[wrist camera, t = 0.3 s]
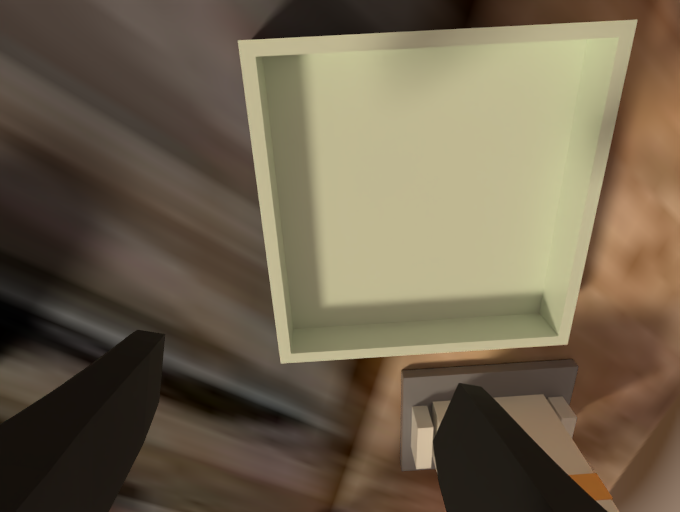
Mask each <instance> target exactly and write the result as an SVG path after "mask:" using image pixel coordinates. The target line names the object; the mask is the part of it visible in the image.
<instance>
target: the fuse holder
mask: <svg viewBox="0 0 680 512" xmlns="http://www.w3.org/2000/svg"><path fill="white" fill-rule="evenodd" d="M578 367H579V366H578V365H577V364H576V363H575V362H574V360H573V359H568V360H553V361H537V362H522V363H507V364H492V365H477V366H462V367H447V368H432V369H417V370H402V373H401V435H400V465H401V470H402V471H412V470H427V469H436V468H435V464H434V461H433V457H432V444H433V424H432V405H433V402H436V401H450V400H451V399H452V397H453V394H454V392H455V390H456V388H457V385H458V383H463V384H469V385H475V386H481V387H482V388H483V389H484V390H486V391H487V392H488V393H489V394H490V395H491V396H492V397H493V398H495V397H509V396H524V395H539V394H543V395H544V396H545V398H546V399H547V401H548V402H549V404H550V405H551V407H552V409H553V410H554V412H555V413H556V415H557V416H558V418H559V419H560V421H561V422H562V424H563V426H564V427H565V429H566V430H567V432H568V433H569V435H570V436H571V438H572V437H573V433H574V429H575V425H576V421H577V416H576V415H575V413H574V412H573V411H572V409H571V408H570V406H569V405H570V401H571V397H572V392H573V388H574V384H575V380H576V375H577V371H578Z"/></svg>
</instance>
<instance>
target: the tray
mask: <svg viewBox="0 0 680 512" xmlns="http://www.w3.org/2000/svg"><path fill="white" fill-rule="evenodd" d="M637 20H638V19H637ZM637 20H618V21H599V22H580V23H561V24H542V25H523V26H504V27H485V28H466V29H447V30H428V31H408V32H389V33H370V34H351V35H332V36H313V37H294V38H275V39H256V40H238V46H239V53H240V61H241V68H242V76H243V83H244V91H245V98H246V106H247V113H248V121H249V128H250V136H251V143H252V151H253V158H254V166H255V173H256V181H257V188H258V196H259V203H260V211H261V218H262V226H263V233H264V241H265V248H266V256H267V264H268V271H269V279H270V286H271V294H272V301H273V309H274V316H275V324H276V331H277V339H278V346H279V354H280V361H281V363H295V362H311V361H326V360H341V359H356V358H371V357H387V356H402V355H417V354H432V353H447V352H463V351H478V350H493V349H508V348H523V347H539V346H554V345H568V340H569V336H570V331H571V326H572V322H573V317H574V312H575V308H576V303H577V299H578V294H579V289H580V285H581V280H582V275H583V271H584V266H585V261H586V257H587V252H588V248H589V243H590V238H591V234H592V229H593V224H594V220H595V215H596V210H597V206H598V201H599V197H600V192H601V187H602V183H603V178H604V173H605V169H606V164H607V159H608V155H609V150H610V146H611V141H612V136H613V132H614V127H615V122H616V118H617V113H618V108H619V104H620V99H621V95H622V90H623V85H624V81H625V76H626V71H627V67H628V62H629V58H630V53H631V48H632V44H633V39H634V34H635V30H636V25H637Z"/></svg>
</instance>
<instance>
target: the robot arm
mask: <svg viewBox="0 0 680 512" xmlns="http://www.w3.org/2000/svg"><path fill="white" fill-rule="evenodd" d="M164 341H165V334H160V333H154V332H148V331H142V330H137V331H135V332H133V333H132V334H130V335H129V336H128V337H126V338H125V339H124V340H123V341H121V342H120V343H119V344H117V345H116V346H115V347H113V348H112V349H111V350H109V351H108V352H107V353H105V354H104V355H103V356H101V357H100V358H99V359H97V360H96V361H95V362H93V363H92V364H91V365H89V366H88V367H86V368H85V369H84V370H82V371H81V372H79V373H78V374H76V375H75V376H74V377H72V378H71V379H69V380H68V381H67V382H65V383H64V384H62V385H61V386H59V387H58V388H56V389H55V390H53V391H52V392H50V393H49V394H47V395H46V396H44V397H43V398H41V399H40V400H38V401H36V402H35V403H33V404H32V405H30V406H29V407H27V408H26V409H24V410H22V411H21V412H19V413H18V414H16V415H15V416H13V417H11V418H10V419H8V420H6V421H5V422H3V423H1V424H0V512H109V510H110V508H111V506H112V504H113V502H114V500H115V498H116V496H117V494H118V492H119V490H120V489H121V487H122V485H123V483H124V481H125V479H126V477H127V475H128V473H129V471H130V469H131V467H132V465H133V463H134V461H135V459H136V457H137V455H138V453H139V451H140V449H141V447H142V445H143V443H144V441H145V438H146V435H147V433H148V430H149V428H150V425H151V422H152V420H153V417H154V414H155V412H156V409H157V406H158V403H159V397H160V386H161V375H162V363H163V352H164ZM433 448H434V455H435V463H436V469H437V475H438V481H439V485H440V489H441V493H442V496H443V500H444V504H445V507H446V511H447V512H608V511H607V510H605V509H604V508H603V507H602V506H601V505H600V504H599V503H598V502H597V501H595V500H594V499H593V498H592V497H591V496H590V495H589V494H588V493H587V492H586V491H585V490H584V489H583V488H582V487H580V486H579V485H578V484H577V483H576V482H575V481H574V480H573V479H572V478H571V477H570V476H569V475H568V474H567V473H566V472H565V471H564V470H563V469H562V468H561V467H560V466H559V465H558V464H557V463H556V462H555V461H554V460H553V459H552V458H551V457H550V456H549V455H548V454H547V453H546V452H545V451H544V450H543V449H542V448H541V447H540V446H539V445H538V444H537V443H536V442H535V441H534V440H533V439H532V438H531V437H530V436H529V435H528V434H527V433H526V432H525V431H524V430H523V428H522V427H521V426H520V425H519V424H518V423H517V422H516V421H515V420H514V419H513V418H512V417H511V416H510V415H509V414H508V413H507V412H506V411H505V410H504V409H503V407H502V406H501V405H500V404H499V403H498V402H497V401H496V400H495V399H494V398H493V397H492V396H491V395H490V394H489V393H488V392H487V391H486V390H484V389H483V388H482V387H481V386H475V385H469V384H463V383H458V385H457V388H456V390H455V392H454V394H453V397H452V399H451V401H450V403H449V406H448V408H447V410H446V412H445V415H444V417H443V419H442V421H441V424H440V426H439V428H438V430H437V433H436V435H435V437H434V439H433Z"/></svg>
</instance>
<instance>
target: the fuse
mask: <svg viewBox="0 0 680 512" xmlns="http://www.w3.org/2000/svg"><path fill="white" fill-rule="evenodd" d="M494 399H495V400H496V401H497V402H498V403H499V404H500V405H501V406H502V407H503V409H504V410H505V411H506V412H507V413H508V414H509V415H510V416H511V417H512V418H513V419H514V420H515V421H516V422H517V423H518V424H519V425H520V426H521V427H522V428H523V430H524V431H525V432H526V433H527V434H528V435H529V436H530V437H531V438H532V439H533V440H534V441H535V442H536V443H537V444H538V445H539V446H540V447H541V448H542V449H543V450H544V451H545V452H546V453H547V454H548V455H549V456H550V457H551V458H552V459H553V460H554V461H555V462H556V463H557V464H558V465H559V466H560V467H561V468H562V469H563V470H564V471H565V472H566V473H567V474H568V475H569V476H570V477H571V478H572V479H573V480H574V481H575V482H576V483H577V484H578V485H579V486H580V487H582V488H583V489H584V490H585V491H586V492H587V493H588V494H589V495H590V496H591V497H592V498H593V499H594V500H595V501H597V502H598V503H599V504H600V505H601V506H602V507H603V508H604V509H605V510H607V511H608V512H619V510H618V509H617V508H616V506H615V504H614V503H613V501H612V499H613V498H612V496H611V495H610V493H609V492H608V490H607V489H606V487H605V486H604V484H603V483H602V481H601V480H600V478H599V477H598V475H597V473H594V472H593V470H592V469H591V467H590V466H589V464H588V463H587V461H586V459H585V458H584V456H583V455H582V453H581V452H580V450H579V449H578V447H577V446H576V444H575V442H574V441H573V439H572V438H571V436H570V435H569V433H568V432H567V430H566V429H565V427H564V426H563V424H562V422H561V421H560V419H559V418H558V416H557V415H556V413H555V412H554V410H553V409H552V407H551V405H550V404H549V402H548V401H547V399H546V398H545V396H544V395H543V394H539V395H524V396H509V397H495V398H494ZM450 401H451V400H450ZM450 401H436V402H433V405H432V424H433V439H434V437H435V435H436V433H437V430H438V428H439V426H440V424H441V421H442V419H443V417H444V415H445V412H446V410H447V408H448V406H449V403H450ZM432 457H433V461H434V464H435V468H436V463H435V455H434V448H433V444H432ZM436 472H437V469H436Z"/></svg>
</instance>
